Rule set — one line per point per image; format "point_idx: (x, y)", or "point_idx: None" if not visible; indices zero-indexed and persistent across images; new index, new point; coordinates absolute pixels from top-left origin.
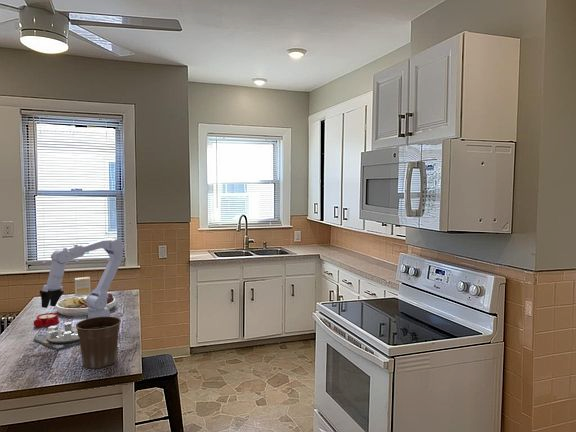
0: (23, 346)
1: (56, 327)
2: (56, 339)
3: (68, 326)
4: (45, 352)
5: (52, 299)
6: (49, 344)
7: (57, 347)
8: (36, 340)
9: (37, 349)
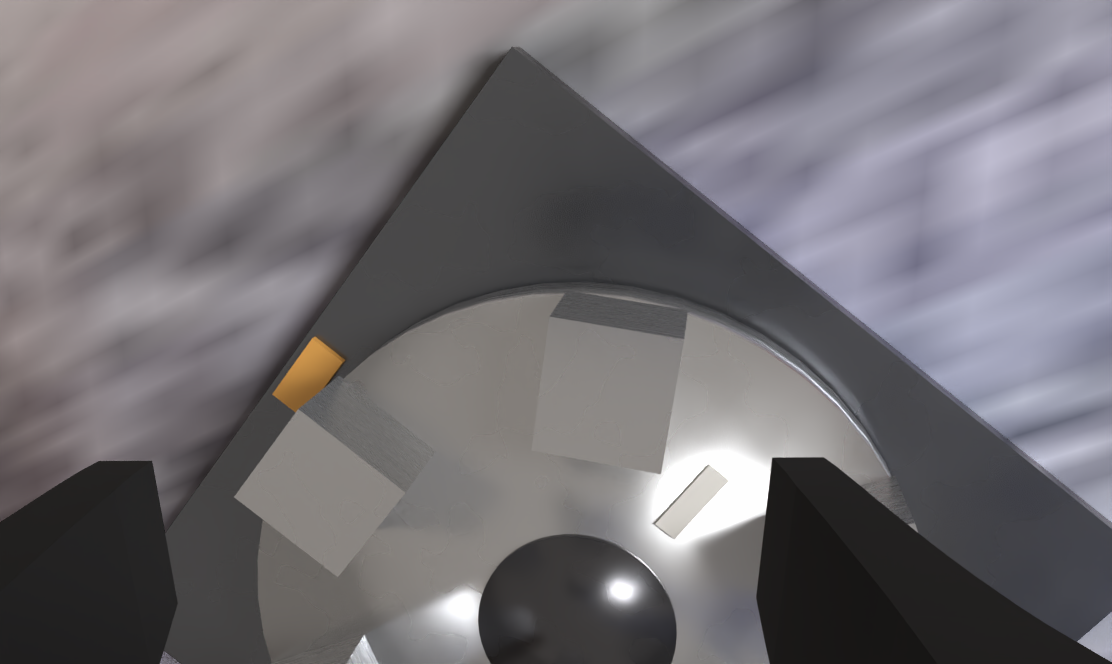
0: (240, 26)
1: (613, 459)
2: (263, 557)
3: None
4: (56, 466)
5: (859, 655)
6: (236, 448)
7: None
8: (456, 131)
9: (144, 309)
